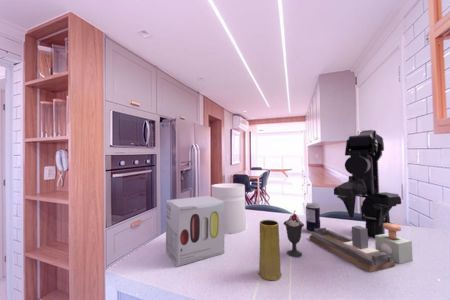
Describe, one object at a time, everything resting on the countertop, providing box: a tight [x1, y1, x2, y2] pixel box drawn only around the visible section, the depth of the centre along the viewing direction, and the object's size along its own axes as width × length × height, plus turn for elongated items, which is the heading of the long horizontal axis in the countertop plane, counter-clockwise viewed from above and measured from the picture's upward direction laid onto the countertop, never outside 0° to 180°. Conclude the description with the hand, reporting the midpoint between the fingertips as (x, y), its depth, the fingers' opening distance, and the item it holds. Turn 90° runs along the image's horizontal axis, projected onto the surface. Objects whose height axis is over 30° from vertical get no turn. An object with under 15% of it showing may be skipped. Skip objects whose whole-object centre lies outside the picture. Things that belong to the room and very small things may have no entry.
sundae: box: [283, 210, 305, 258], centre depth 67 cm, size 7×7×15 cm
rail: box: [309, 227, 395, 273], centre depth 69 cm, size 10×24×4 cm, turn 17°
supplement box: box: [165, 195, 225, 268], centre depth 70 cm, size 17×13×18 cm
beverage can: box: [305, 202, 321, 233], centre depth 88 cm, size 6×6×12 cm
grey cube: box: [374, 232, 414, 265], centre depth 64 cm, size 6×7×6 cm
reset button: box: [383, 222, 402, 241], centre depth 65 cm, size 4×4×5 cm
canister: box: [211, 182, 246, 235], centre depth 94 cm, size 16×16×20 cm
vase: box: [258, 219, 282, 281], centre depth 56 cm, size 6×6×14 cm
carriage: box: [343, 225, 379, 259], centre depth 64 cm, size 5×8×8 cm, turn 17°
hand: (364, 221), depth 64 cm, fingers open, 9 cm apart
